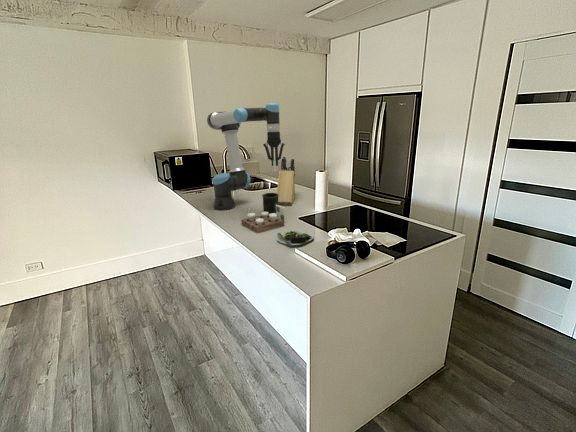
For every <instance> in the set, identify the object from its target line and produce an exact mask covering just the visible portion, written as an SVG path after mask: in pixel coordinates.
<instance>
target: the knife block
mask: <svg viewBox="0 0 576 432" xmlns="http://www.w3.org/2000/svg"><path fill="white" fill-rule="evenodd" d="M280 161H281V163H280V170H279V171H278V177H277V178H278V180H277V190H276V193H277V194H279V196H278V204H279V206H281V205H289V206H291V205H293V203H294V201H295V200H294V199H295V196H296V194H295V193H296V190H295V189H296V173H295V168H296V166H295V159H294V158H291V161H290V166H289V167H287V157H286V156H283V157H281V160H280Z"/></svg>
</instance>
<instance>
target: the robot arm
mask: <svg viewBox="0 0 576 432" xmlns="http://www.w3.org/2000/svg"><path fill="white" fill-rule="evenodd" d="M206 122H207V123H206V124H207V125H208V126H209V128H211V129H212V130H217V131H218V130H219V131H221V134H223V135H224V138H225V139H224V140H225V145H226V150H227V157H228V161H229V167H230V170H229V171H228V172H222V173H218V174H216V175H213V178H212V184H213V191H214V192H213V193H214V198H213V200H214V201H213V207H212V208H213V210H216V211H229V210H231V209H234V208H236V202H235V200H234V198H233V195H232V194H233V193H232V192H233V191H239V190H243V189H247V188H248V187H249V186H250V184H251V176H250V174H249V173H248V172H247V171H246V169H245V168H244V167H243V161H242V156H241V155H242V154H241V150H240V146H239V145H240V144H239V138H238V132H239V128H241V123H245V122H246V123H247V122H266V129H267V130H266V131H267V133H266V136H267V137H266V138H267V140H266V142H265V143H263V147H264V149H265V151H266V156H267V160H268V161H271V167H273V172H277V171H278V166H279V160H280V161H281V160H282V156H283V149H284V146H285V145H286V143H285V142H282V140H281V132H280V131H281V127H280V122H281V121H280V106H279V104H278V103H273V102H272V103H266V104H265V107H237V108H235V109H233V110H229V111H213V112H211V113H208V115H207V118H206ZM279 146H280V149H279ZM269 148H270V149H269ZM274 154H275V155H274Z"/></svg>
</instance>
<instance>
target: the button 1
mask: <svg viewBox="0 0 576 432" xmlns="http://www.w3.org/2000/svg"><path fill="white" fill-rule="evenodd" d="M255 216H256V213H255V212H249V213H247V218H249V222H253V221H254V217H255Z"/></svg>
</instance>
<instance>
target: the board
mask: <svg viewBox="0 0 576 432" xmlns="http://www.w3.org/2000/svg"><path fill="white" fill-rule="evenodd" d="M258 218H262V216H261V214H260V215H257V216H256V215H255V217H254V221H253V222H249V218H248V217H247V218H243V219H241V225H242V226H243V227H245V228H247V229H249V230H251V231H252V232H254V233H256V234H259V233H263V232H266V231H270V230H275V229H277V228H280V227H281V228H282V227H284V226H285V222H284V221H283V220H281V219H278V218H276V222H271V219H270V218H269V214H268V216H267V218H265V219H263V220H264V223H262V224H263V225H261V226H257V223H256V219H258Z"/></svg>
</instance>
